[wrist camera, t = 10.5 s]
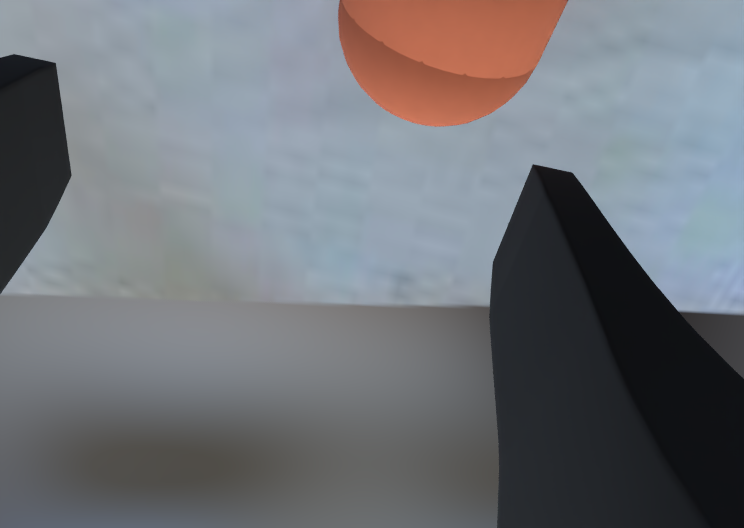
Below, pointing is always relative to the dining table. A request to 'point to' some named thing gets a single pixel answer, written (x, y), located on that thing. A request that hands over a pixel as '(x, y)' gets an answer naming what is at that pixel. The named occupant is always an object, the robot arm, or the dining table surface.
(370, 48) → the sweet potato
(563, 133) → the dining table surface
